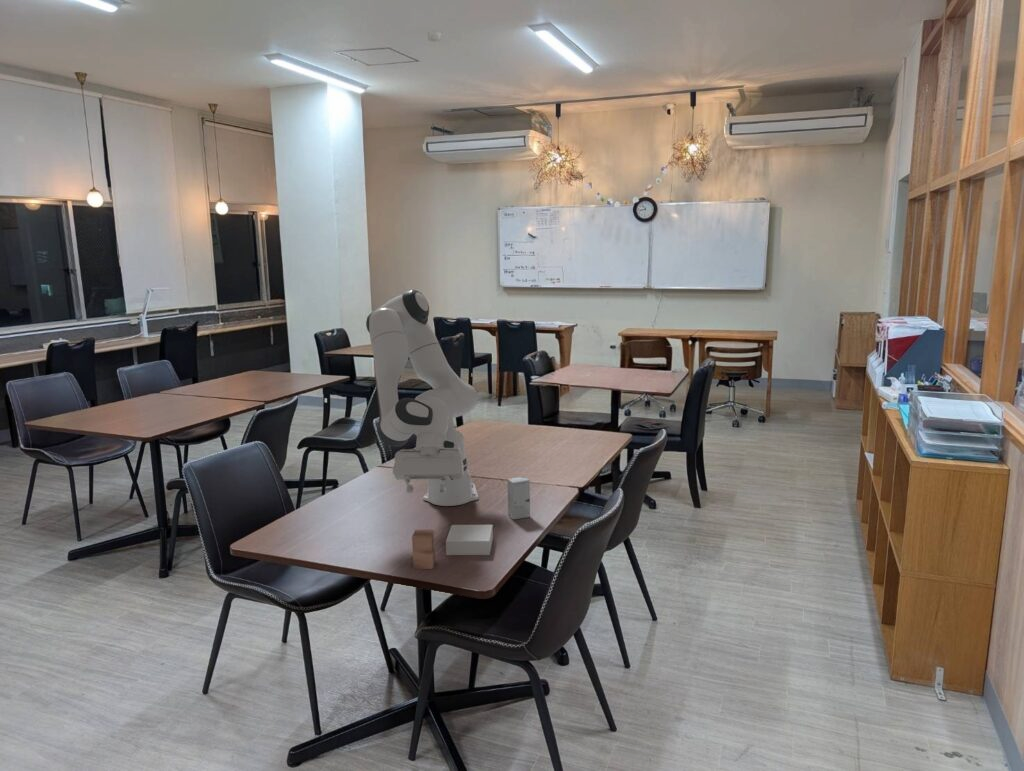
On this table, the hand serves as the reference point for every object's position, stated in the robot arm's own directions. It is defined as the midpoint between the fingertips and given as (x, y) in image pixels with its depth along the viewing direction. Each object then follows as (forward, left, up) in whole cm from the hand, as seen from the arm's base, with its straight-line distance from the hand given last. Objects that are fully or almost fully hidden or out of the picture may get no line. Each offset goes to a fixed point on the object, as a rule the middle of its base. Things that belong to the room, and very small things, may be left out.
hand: (425, 491), depth 196 cm
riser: (0, +12, -16) cm, 20 cm away
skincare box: (-23, +25, -16) cm, 37 cm away
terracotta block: (+12, +1, -16) cm, 20 cm away
